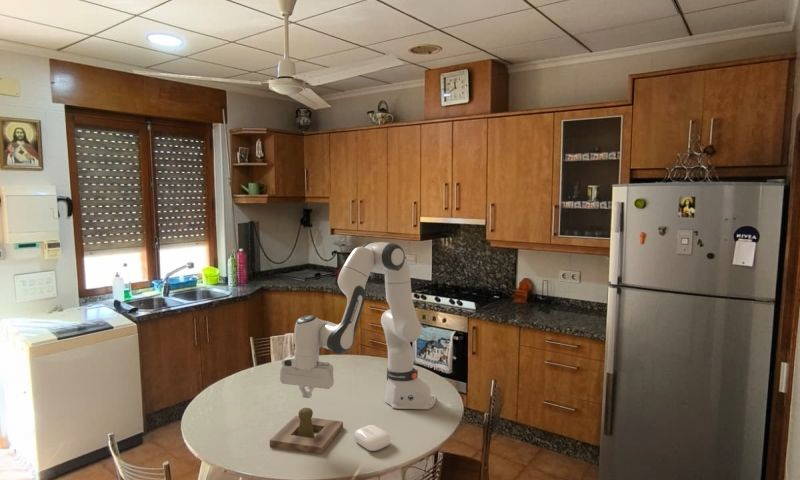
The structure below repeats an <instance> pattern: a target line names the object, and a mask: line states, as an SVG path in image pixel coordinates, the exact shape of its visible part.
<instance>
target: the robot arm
mask: <svg viewBox="0 0 800 480" xmlns="http://www.w3.org/2000/svg"><path fill="white" fill-rule="evenodd" d="M403 249H404V248H403V247H402V246H401V245H399V244H397V243H393V242H385V241H378V242H372V241H371V242H367V243H364V244H363V245H362V246H357V247H355V248H353V250H352V251H351V252H350V254H349V255H348V256H347V258H346V260H345V262H344V264H343V266H342V267H341V270H340V271H339V273H338V276H337V285H338V287H339V290H340V291H341V292H342V293H343V294H344V295H345V297H346V300H347V304H346V306H345V310H344V313H343V316H342V318H341V321H340V323H339V324H338V323H334V322H331V321H328V320H323V319H320V318H318V317H317V316H315V315H314V314H313V315H304V316H301V317H299V318H297V320H296V321H295V325H294V333H293V335H294V336H293V339H294V341H293V342H294V345H295V347H294V354H291V355H288V356H286V357H285V358H284V359H283V360H282V361H281V368H280V373H279V380H280V383H281V384H282V385H290V386H292V385H293V386H297V387H298V386H299V387H298V388H299V391H300V392H301V393H302V398H306V399H311V398H312V395H313V393H312V392H313V391H314V389H315V388H316V389H325V390H330V389H331V388H332V387H333V386H334V384H335V381H334V367H333V366H334V365H332V364H331V363H330V362H325V361H324V362H323V361H320V348H323V349H326V350H329V351H330V352H333V353H334V354H336V355H344V354H346V353H348V352H349V350H350V349H352V347H353V345H354V343H355V339H356V338H355V337H356V331H357V326H358V324H359V320H360V317H361V315H362V311H363V308H364V304H365V300H366V285H367V282H368V279H369V277H370V275H371V272H372V270H373V269H377V270H383V271H384V288H385V299H386V303H387V304H388V307H389V309H386V310H385V311H384V312H383V313H382V315H381V318H380V324H381V326H382V329H383V333H384V337H385V343H386V348H387V367H386V381H387V383H386V389H385V391H386V392H385V394H384V400H383V401H384V402H385V403H386V404H388V405H390V406H391V408H393V409H399V410H400V409H402V410H404V409H405V410H430V409H432V408H433V407H434V405H436V402H437V401H436V398H437V397H436V396H435V395H434V394H431V389H430V385H429V384H428V383H426V382H425V381H424V380H422V379H421V378H420V377H419V375H418V374H419V369H418V368H416V369H415V367H414V349H413V347H412V345H411V343H412V342H416V341H417V340H419V339H420V337H421V335H422V333H423V328H422V327H423V326H422V324H421V321H419V319H418V315H417V313H416V309H415V304H414V302H413V295H412V284H411V283H412V282H411V281H412V280H411V273H410V272H411V271H410V267H409V263H408V260H407V258H406V256H405V252H404V250H403ZM305 387H307V388H308V390H309V391H307V390H306V388H305Z"/></svg>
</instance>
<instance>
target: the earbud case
mask: <svg viewBox="0 0 800 480" xmlns="http://www.w3.org/2000/svg"><path fill="white" fill-rule="evenodd" d="M353 439H354V441H355V443H358V445H360V446H361V447H363V448H364V449H366V450H368V451H369V452H370V451H371V452H376V451H377V452H378V451H379V450H381V449H383V448H387V447H388V446H389V445H390V444H391V440H392V439H391V435H390V434H389V432H387V431H386V430H384V429H383V428H381V427H379V426H378V425H374V424H368V425H365V426H363V427H361V428H357V429H356V430H355V431H354V435H353Z"/></svg>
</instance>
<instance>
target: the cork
mask: <svg viewBox="0 0 800 480" xmlns="http://www.w3.org/2000/svg"><path fill="white" fill-rule="evenodd" d="M313 413H314V412H313V409H312V408H310V407H302V408H301V409H299V411H298V416H299V418H300V424H299V432H298V434H297V436H302V437H309V438H315V437H314V436H315V431H313V426H312V419H311V418H313Z"/></svg>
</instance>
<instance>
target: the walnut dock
mask: <svg viewBox="0 0 800 480" xmlns="http://www.w3.org/2000/svg"><path fill="white" fill-rule="evenodd" d="M311 419H312V426H313V432H318V433H317V434H316V436H315V437H313V438H309V437H302V436H298V432H299V424H300V418H299V415H294V417H293V418H291V420H289V422H287V423H286V424H285V425H284V426H283V427H282V428H281V429H280V430H279V431H277V432H276V434H274V435H273V436H272V437H271V438H270V439H269V447H270V448H276V449H284V450H289V451H290V450H291V451H297V452H303V453H310V454H317V455H323V453H324V452H325V451H326V450H327V449H328V447H329V446H330V445H331V443H332V442H333V441H334V440H335V438H336V437H337V436H338V435H339V434H340V432H341V431H342V430H343V429H344V421H341V420H340V421H339V420H334V419H326V418H320V417H319V418H318V417H311Z"/></svg>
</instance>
